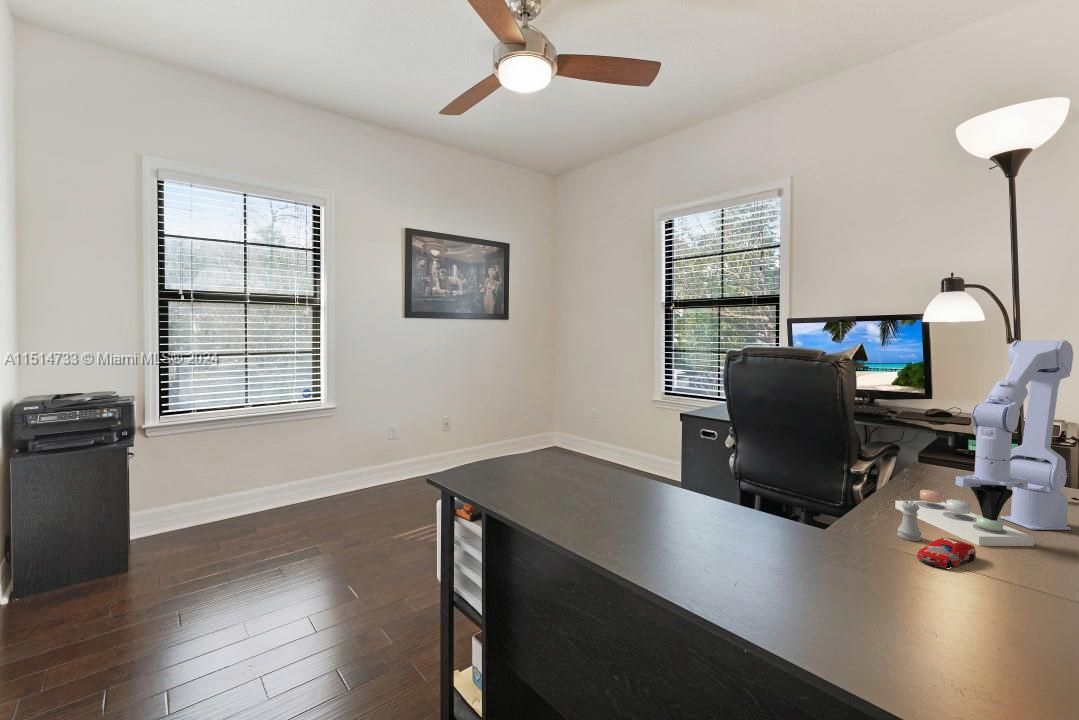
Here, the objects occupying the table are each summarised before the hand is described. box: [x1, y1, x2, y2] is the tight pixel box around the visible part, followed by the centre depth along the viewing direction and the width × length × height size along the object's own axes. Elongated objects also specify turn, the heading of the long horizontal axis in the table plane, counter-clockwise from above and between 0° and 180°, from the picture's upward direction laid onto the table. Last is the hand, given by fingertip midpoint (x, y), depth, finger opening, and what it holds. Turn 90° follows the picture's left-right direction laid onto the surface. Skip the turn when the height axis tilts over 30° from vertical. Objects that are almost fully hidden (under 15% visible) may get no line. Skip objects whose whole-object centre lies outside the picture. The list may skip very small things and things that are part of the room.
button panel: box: [894, 500, 1035, 547], centre depth 117 cm, size 12×24×2 cm, turn 1°
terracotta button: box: [919, 489, 943, 503], centre depth 125 cm, size 4×4×2 cm
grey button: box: [945, 498, 972, 514], centre depth 117 cm, size 4×4×2 cm
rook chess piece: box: [896, 500, 923, 543], centre depth 109 cm, size 4×4×8 cm
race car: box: [917, 537, 977, 569], centre depth 98 cm, size 13×5×4 cm, turn 114°
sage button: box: [976, 514, 1004, 531], centre depth 109 cm, size 4×4×2 cm
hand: (989, 519), depth 109 cm, fingers closed, pressing on sage button
